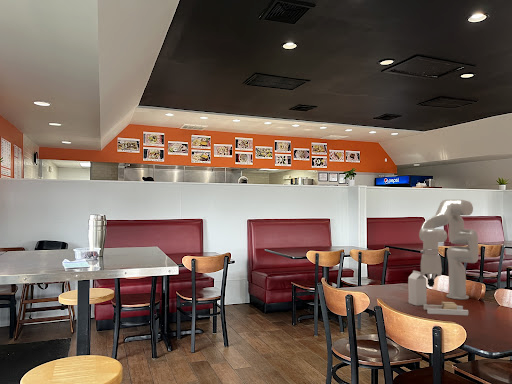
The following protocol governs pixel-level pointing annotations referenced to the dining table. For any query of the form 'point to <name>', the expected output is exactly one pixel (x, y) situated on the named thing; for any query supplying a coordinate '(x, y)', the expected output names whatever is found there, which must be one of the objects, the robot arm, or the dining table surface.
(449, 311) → the channel
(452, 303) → the maple block
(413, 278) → the milk carton
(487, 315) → the dining table surface
